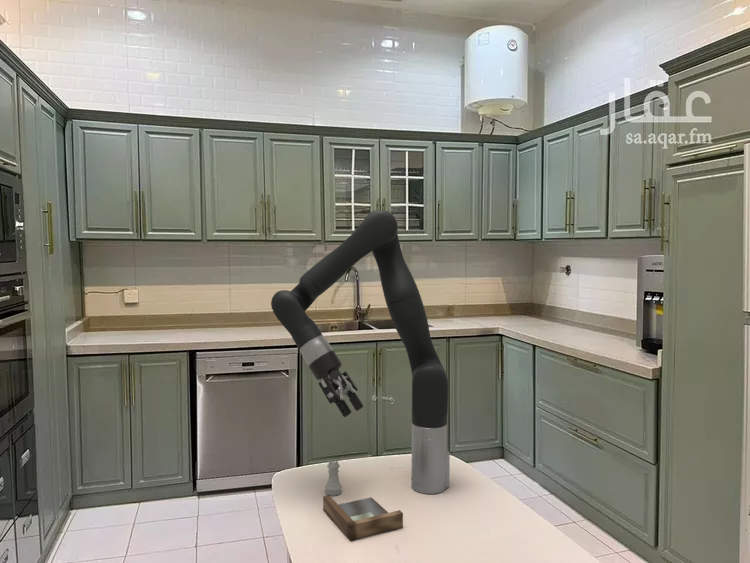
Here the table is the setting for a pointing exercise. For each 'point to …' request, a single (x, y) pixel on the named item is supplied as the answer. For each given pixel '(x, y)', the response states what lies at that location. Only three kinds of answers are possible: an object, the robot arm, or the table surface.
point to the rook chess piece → (333, 479)
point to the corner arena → (362, 517)
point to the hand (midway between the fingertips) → (354, 411)
